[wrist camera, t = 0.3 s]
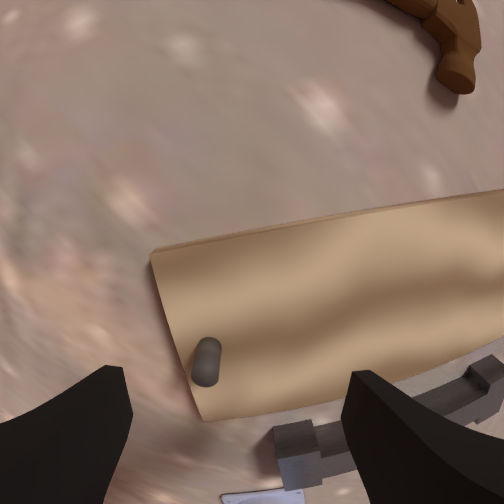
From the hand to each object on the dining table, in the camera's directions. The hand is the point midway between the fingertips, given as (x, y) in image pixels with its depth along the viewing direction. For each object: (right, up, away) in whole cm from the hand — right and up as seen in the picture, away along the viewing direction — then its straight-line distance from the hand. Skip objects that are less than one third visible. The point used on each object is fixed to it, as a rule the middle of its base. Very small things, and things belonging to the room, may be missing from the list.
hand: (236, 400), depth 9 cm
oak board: (+12, +2, +10) cm, 16 cm away
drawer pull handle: (+13, -9, +13) cm, 20 cm away
